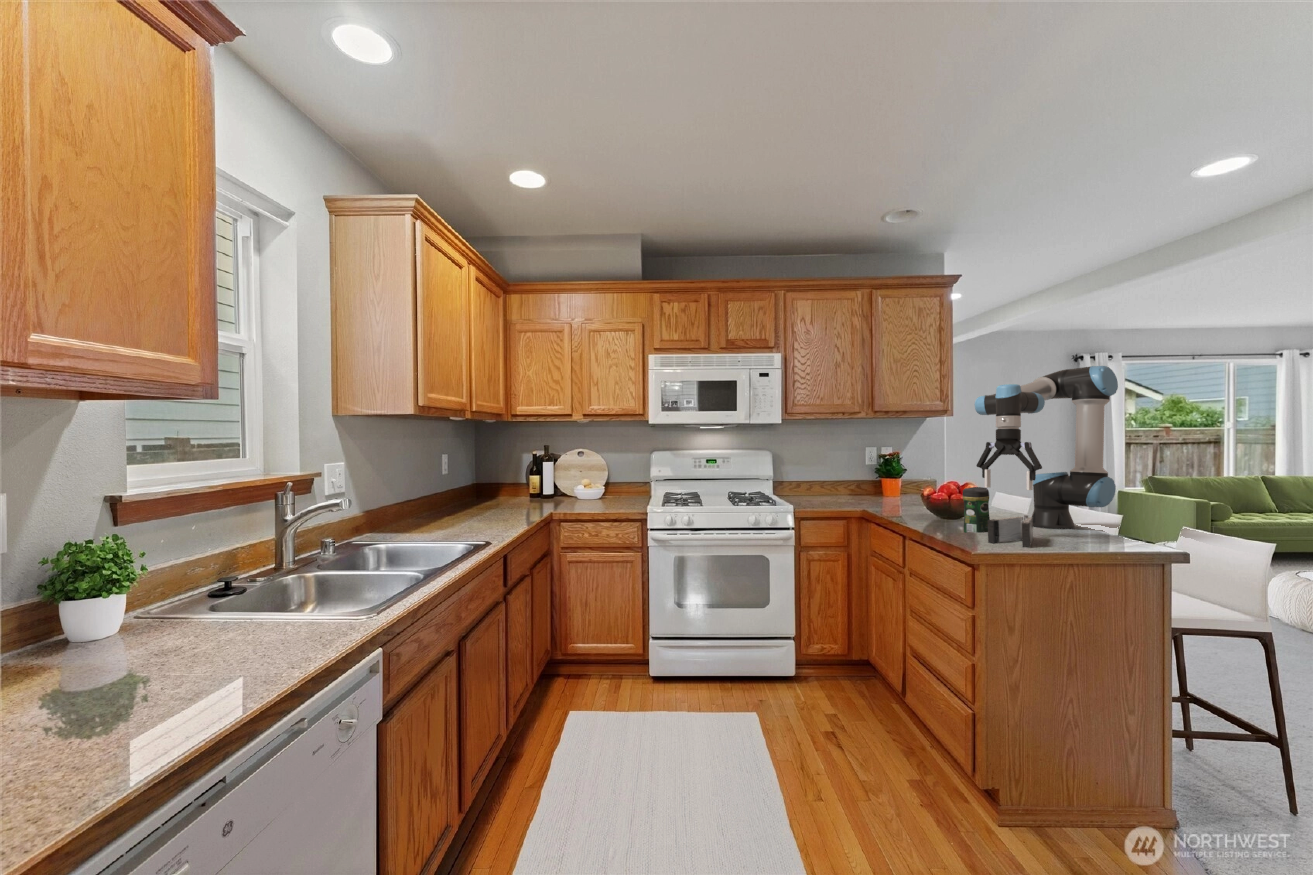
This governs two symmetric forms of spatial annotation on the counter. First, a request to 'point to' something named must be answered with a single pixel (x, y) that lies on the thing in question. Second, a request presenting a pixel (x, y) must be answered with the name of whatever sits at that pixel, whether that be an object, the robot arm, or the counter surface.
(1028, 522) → the grey flat box
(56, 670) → the counter surface
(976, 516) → the coffee jar
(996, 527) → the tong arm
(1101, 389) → the robot arm
